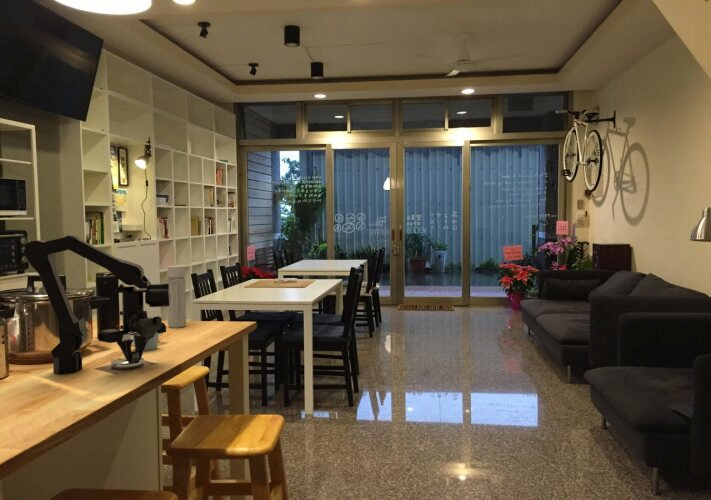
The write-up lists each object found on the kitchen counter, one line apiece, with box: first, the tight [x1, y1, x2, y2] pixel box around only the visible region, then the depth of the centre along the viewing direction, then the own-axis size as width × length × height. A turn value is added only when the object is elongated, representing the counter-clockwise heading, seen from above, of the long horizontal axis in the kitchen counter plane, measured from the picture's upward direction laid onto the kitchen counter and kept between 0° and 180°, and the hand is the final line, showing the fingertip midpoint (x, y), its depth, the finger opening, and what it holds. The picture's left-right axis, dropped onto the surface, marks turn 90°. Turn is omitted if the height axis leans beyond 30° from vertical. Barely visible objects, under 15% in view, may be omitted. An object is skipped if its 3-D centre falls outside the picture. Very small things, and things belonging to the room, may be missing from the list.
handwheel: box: [110, 349, 145, 369], centre depth 164 cm, size 9×9×4 cm
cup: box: [133, 333, 159, 352], centre depth 187 cm, size 8×8×10 cm
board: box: [93, 359, 159, 375], centre depth 165 cm, size 14×11×1 cm
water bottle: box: [165, 265, 187, 329], centre depth 230 cm, size 9×8×25 cm
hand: (134, 361), depth 163 cm, fingers closed on handwheel, 3 cm apart
